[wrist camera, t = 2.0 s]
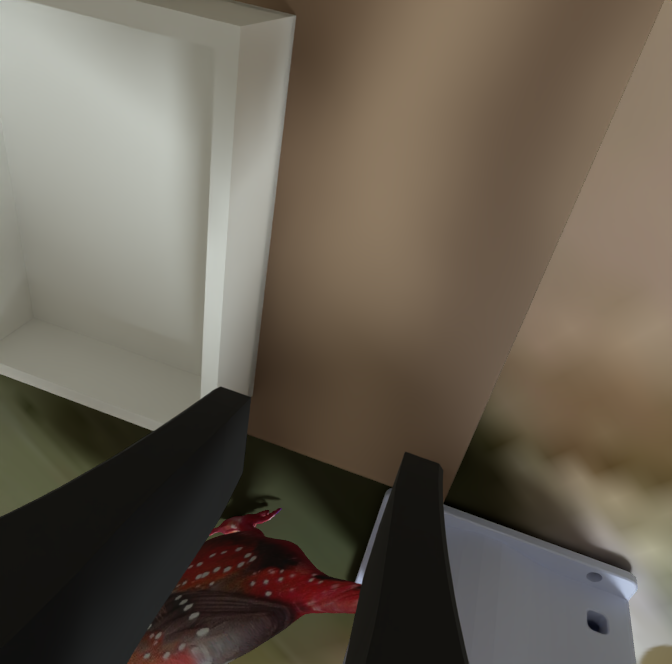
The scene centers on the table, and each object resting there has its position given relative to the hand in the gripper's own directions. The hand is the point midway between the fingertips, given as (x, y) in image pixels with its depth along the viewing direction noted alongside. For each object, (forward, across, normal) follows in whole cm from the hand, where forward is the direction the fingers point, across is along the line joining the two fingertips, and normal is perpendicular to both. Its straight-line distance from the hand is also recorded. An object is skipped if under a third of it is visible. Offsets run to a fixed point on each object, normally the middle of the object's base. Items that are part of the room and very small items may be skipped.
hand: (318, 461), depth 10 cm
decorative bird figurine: (+9, +3, +13) cm, 16 cm away
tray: (+7, +8, 0) cm, 11 cm away
